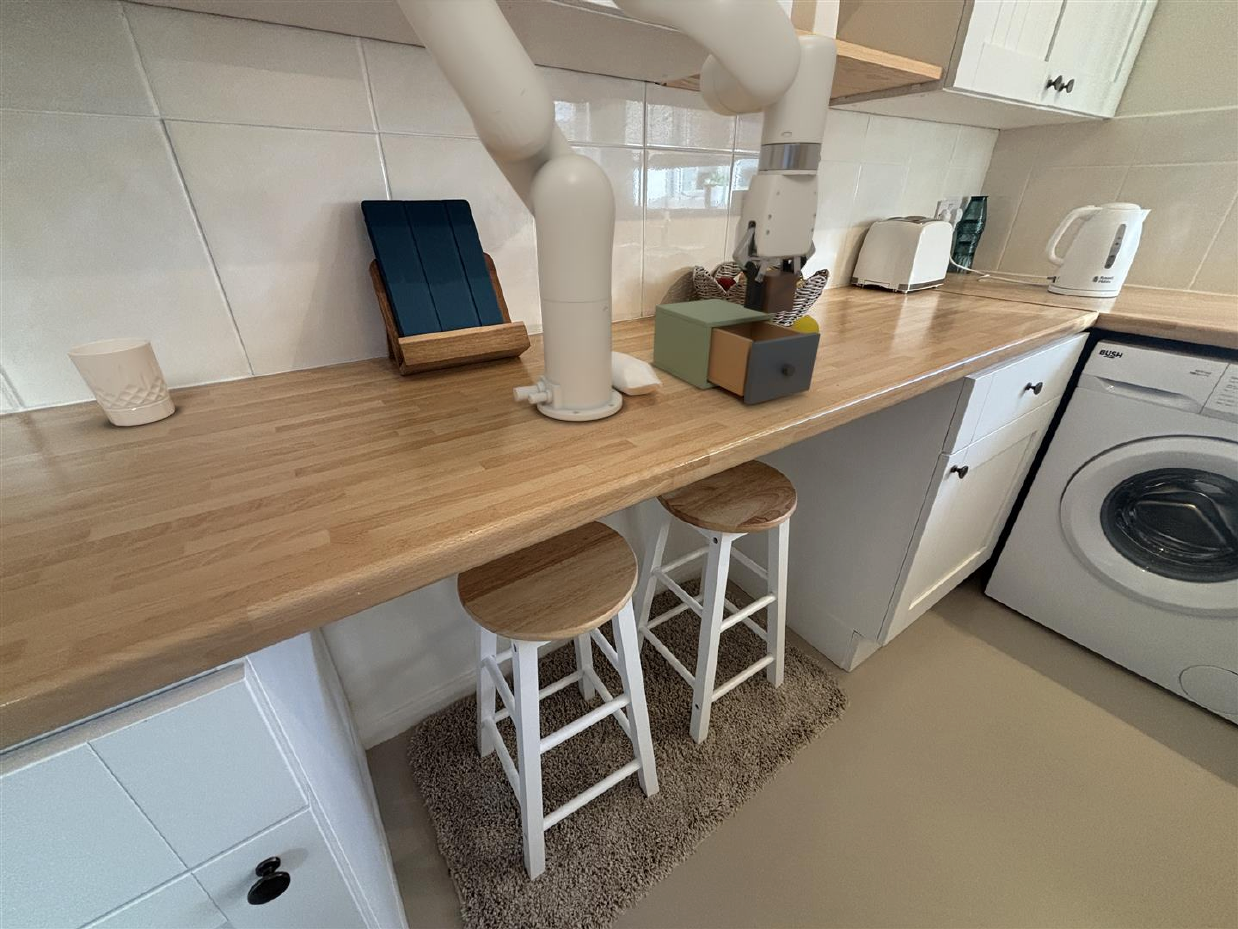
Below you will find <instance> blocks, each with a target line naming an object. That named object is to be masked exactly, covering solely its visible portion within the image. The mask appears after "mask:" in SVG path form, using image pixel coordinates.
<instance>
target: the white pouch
mask: <svg viewBox="0 0 1238 929" xmlns="http://www.w3.org/2000/svg"><path fill="white" fill-rule="evenodd" d="M662 387H663V383H662V381H661V380H660V379H659V377H658V376H657V372H656V371H655V370H654V368H653V367H652V366H651V365H650V363H648V362H646V361H644V360H642V359H639V358H636V357H634V356H632V355H629V354H627V353H623V352H619V351H616V350H612V388H613V389H615V390H617V391H620V392H622V393H624V394H627V395H628V396H640V395H648V394H649V393H652V392H653V391H655V390H656V389H660V388H662Z"/></svg>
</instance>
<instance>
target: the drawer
mask: <svg viewBox="0 0 1238 929" xmlns="http://www.w3.org/2000/svg"><path fill="white" fill-rule="evenodd" d="M711 328H712V329H711V339H710V349H709V360H708V370H707V380H708V381H711V382H713V383H715V384H717V385H719V386H720V387H721V388H724V389H726V390H728V391H729V392H732V393H733V394H736V395H738V396H740V397H743V396H744V398H743V403H745V404H747V405H752V404H757V403H762V402H765V401H770V400H774V399H778V398H783V397H786V396H790V395H795V394H799V393H804V392H808V391H810V388H811V383H812V378H813V374H814V370H815V369H814V368H815V364H816V360H817V354H818V350H819V345H820V339H821V334H822V333H820V332H819V333H816V332H813V333H807V334H804V332H802V331H799V330H795V329H792V328H791V327H788V326H784V325H781V324H777V323H774V322H773V323H771V322H767V321H764V320H760V321H753V322H746V323H739V324H732V325H725V326H718V327H711ZM719 386H718V387H719Z"/></svg>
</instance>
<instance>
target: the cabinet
mask: <svg viewBox="0 0 1238 929" xmlns="http://www.w3.org/2000/svg"><path fill="white" fill-rule="evenodd" d="M654 310H655V311H654V333H653V335H654V336H653V357H652V358H653V359H652V365H653V366H655V367H657V368H659V369H661V370H663V371H664V372H667V373H668V374H670V375H673V376H674V377H677V378H679V379H680V380H682V381H685V382H687V383H689V384H690V385H692V386H693V387H694V386H695V387H696V388H698V389H701V390H705V389H710V388H715V387H719V385H717V384H715V383H713V382H711V381H708V380H707V370H708V360H709V349H710V339H711V329H712V328H711V327H718V326H725V325H732V324H739V323H746V322H753V321H760V320H764V321H767V322H771V323H774V317H775V313H770V314H766V313H762V312H758V311H754V310H750V309H746V308H744V304H743V305H742V304H739V303H735V302H731V301H727V300H724V299H720V298H711V299H709V298H708V299H701V300H693V301H684V302H675V303H667V304H658V305H657V304H656V305H655V308H654Z"/></svg>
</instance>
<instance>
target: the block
mask: <svg viewBox="0 0 1238 929" xmlns="http://www.w3.org/2000/svg"><path fill="white" fill-rule="evenodd" d="M798 280H799V277H798V274H796V273H790V272H784V271H780V270H777V269H767V270H766V273H765V276H764V279H763V282H766V288H765V295H764V302H763V309H762V311H758V312H762V313H766V314H770V313H773V314H775V313H776V314H777V313H784V312H790V311H793V309H794V303H795V298H796V292H797V285H798ZM745 283H746V284H745V288H746V287H747V281H746V282H745ZM745 295H746V289H745V292H744V296H745ZM744 304H745V298H744V299H743V305H744ZM744 308H745V307H744Z"/></svg>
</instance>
